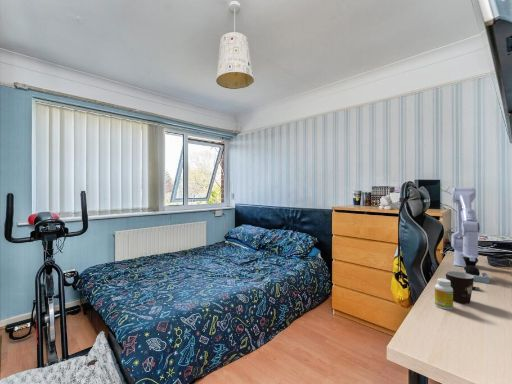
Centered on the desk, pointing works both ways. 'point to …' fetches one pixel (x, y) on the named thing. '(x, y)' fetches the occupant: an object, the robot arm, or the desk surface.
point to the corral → (480, 277)
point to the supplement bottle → (443, 294)
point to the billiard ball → (471, 270)
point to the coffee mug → (460, 286)
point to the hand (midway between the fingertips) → (470, 272)
